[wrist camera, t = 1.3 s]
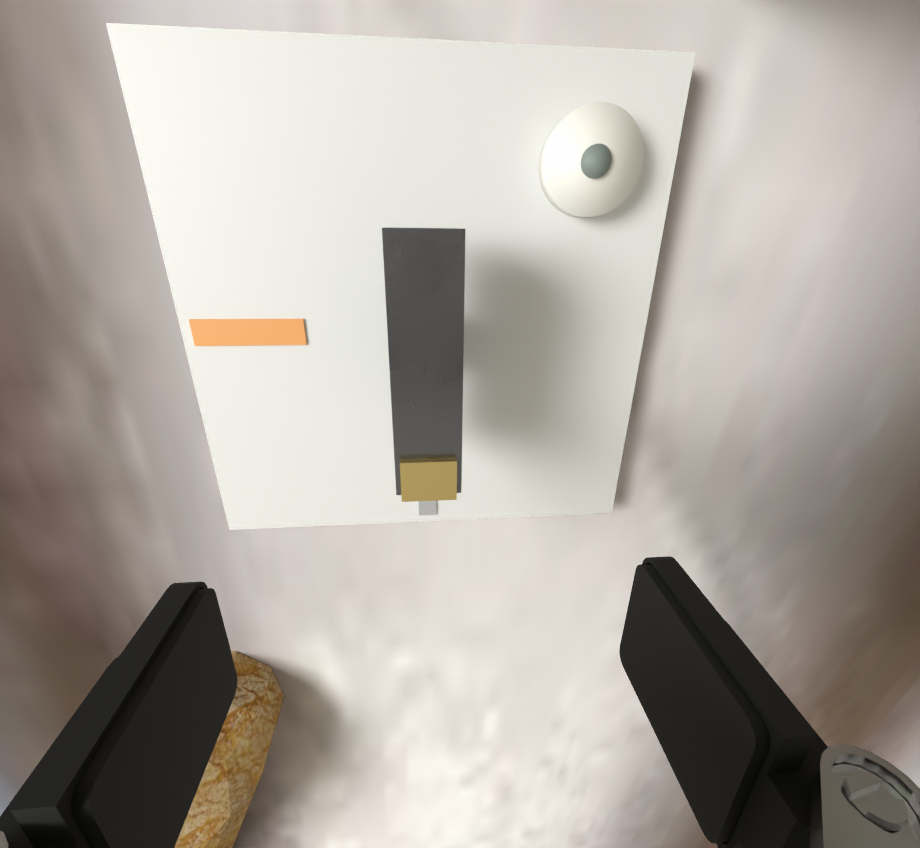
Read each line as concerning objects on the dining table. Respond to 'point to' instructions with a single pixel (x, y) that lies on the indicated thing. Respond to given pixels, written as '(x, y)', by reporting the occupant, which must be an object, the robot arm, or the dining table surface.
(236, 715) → the bread
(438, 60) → the level plate
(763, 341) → the dining table surface
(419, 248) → the grey block with gold
